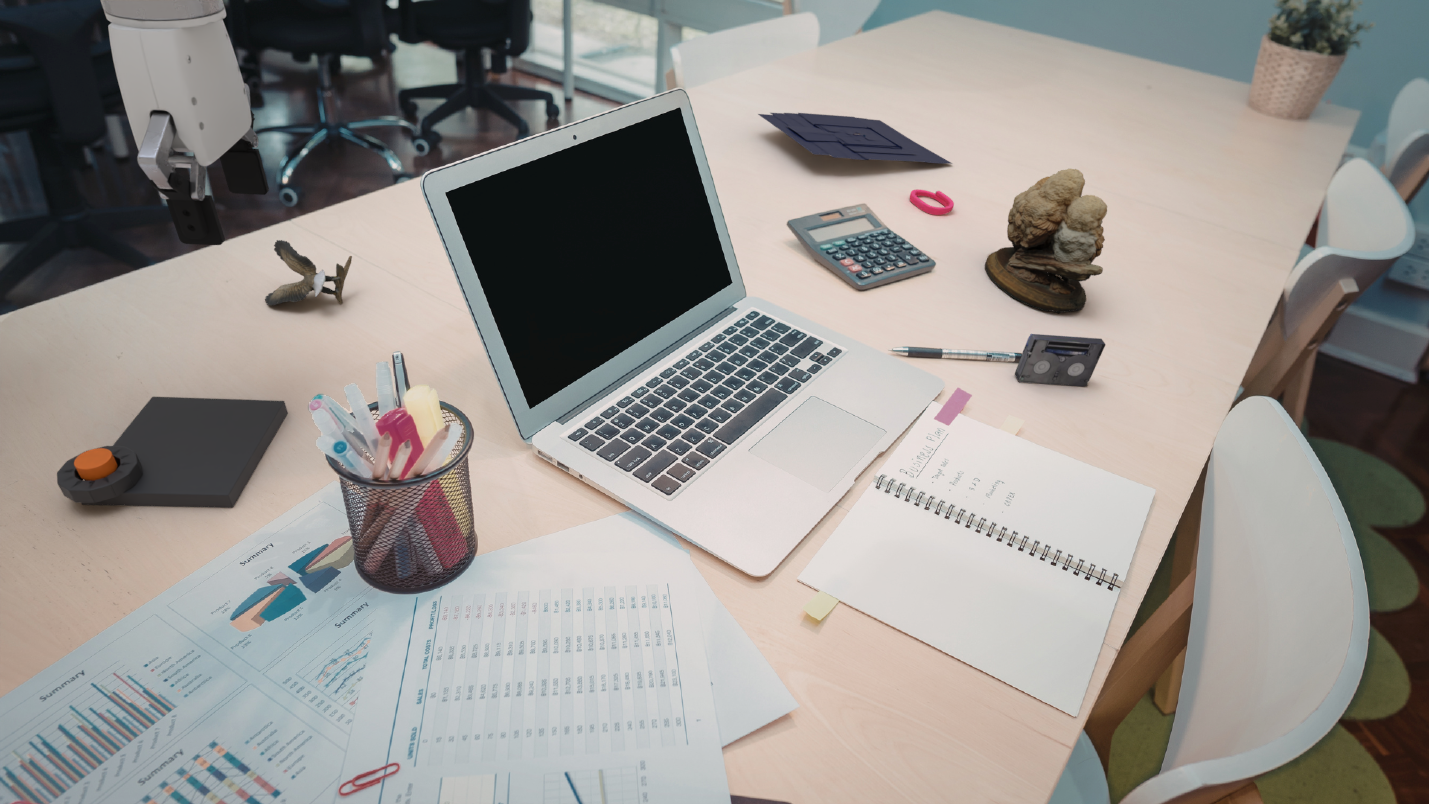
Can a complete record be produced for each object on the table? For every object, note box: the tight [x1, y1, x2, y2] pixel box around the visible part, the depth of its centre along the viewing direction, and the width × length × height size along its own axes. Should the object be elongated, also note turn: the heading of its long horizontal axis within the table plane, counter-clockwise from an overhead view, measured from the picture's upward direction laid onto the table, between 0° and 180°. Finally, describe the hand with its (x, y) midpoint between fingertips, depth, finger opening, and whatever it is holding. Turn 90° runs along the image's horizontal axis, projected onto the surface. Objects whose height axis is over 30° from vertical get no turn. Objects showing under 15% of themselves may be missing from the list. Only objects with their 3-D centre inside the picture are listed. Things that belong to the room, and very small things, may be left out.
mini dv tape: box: [1014, 333, 1106, 388], centre depth 93 cm, size 8×2×6 cm, turn 90°
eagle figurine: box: [264, 239, 353, 306], centre depth 94 cm, size 8×7×9 cm
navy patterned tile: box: [757, 112, 954, 165], centre depth 151 cm, size 24×30×4 cm
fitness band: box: [909, 189, 955, 216], centre depth 133 cm, size 8×6×2 cm
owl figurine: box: [984, 168, 1108, 314], centre depth 109 cm, size 18×12×17 cm, turn 19°
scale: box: [56, 396, 289, 509], centre depth 72 cm, size 13×14×3 cm
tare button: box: [74, 447, 117, 481], centre depth 67 cm, size 3×3×1 cm
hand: (228, 216), depth 68 cm, fingers open, 9 cm apart
